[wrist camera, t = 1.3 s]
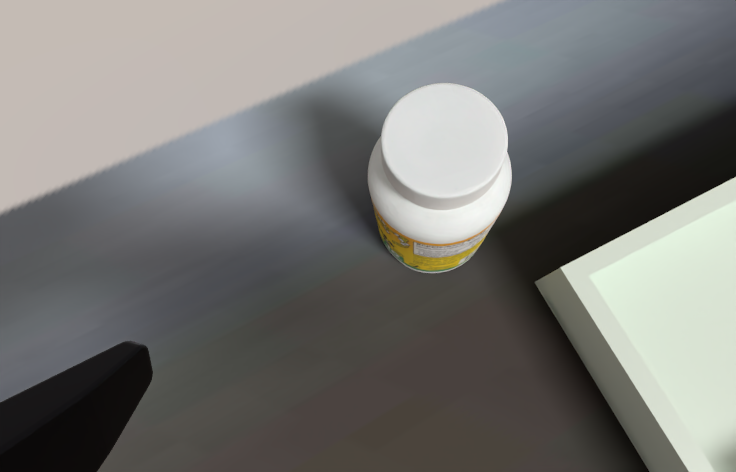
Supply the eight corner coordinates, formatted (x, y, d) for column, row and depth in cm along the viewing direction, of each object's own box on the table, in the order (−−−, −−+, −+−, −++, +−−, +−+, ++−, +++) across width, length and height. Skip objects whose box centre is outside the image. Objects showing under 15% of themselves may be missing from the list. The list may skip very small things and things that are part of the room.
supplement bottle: (490, 270, 23) (545, 213, 13) (382, 279, 23) (365, 229, 14) (476, 169, 24) (518, 54, 15) (374, 179, 24) (353, 73, 15)
